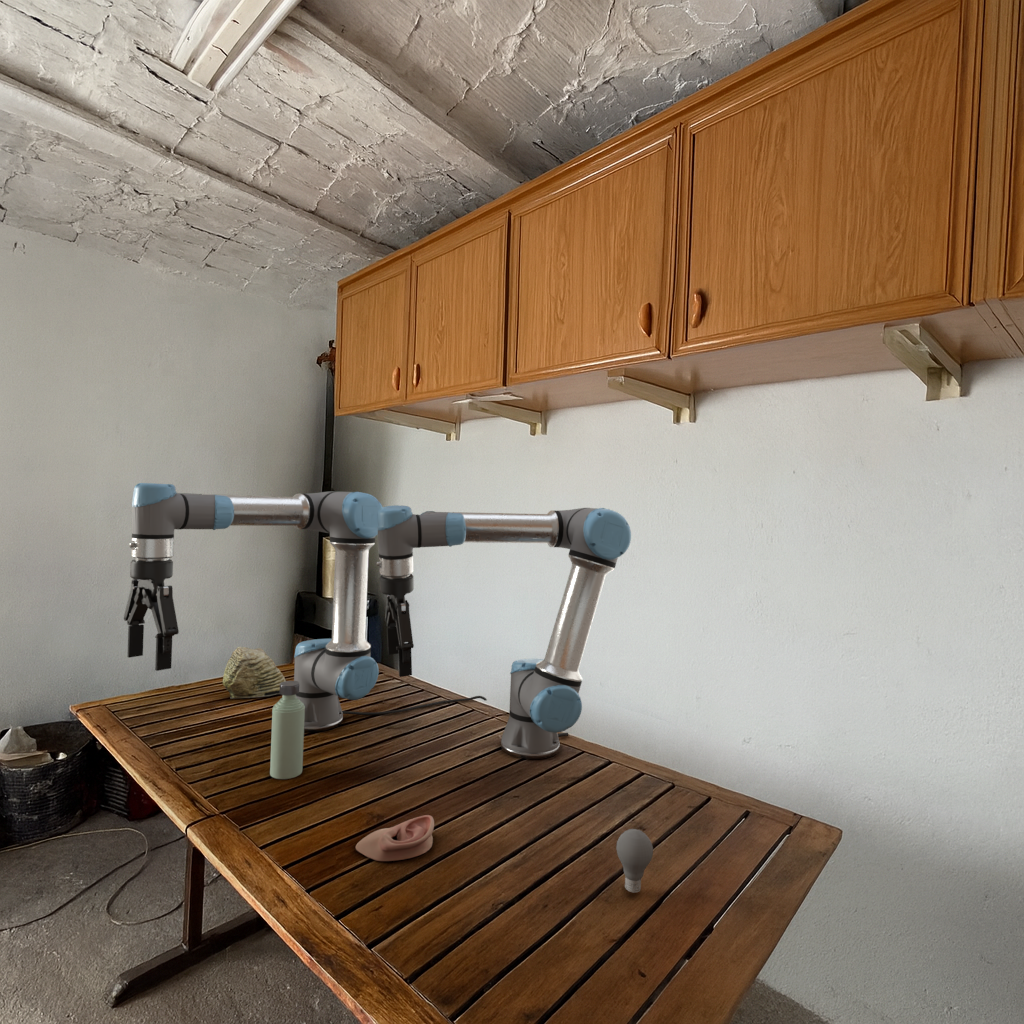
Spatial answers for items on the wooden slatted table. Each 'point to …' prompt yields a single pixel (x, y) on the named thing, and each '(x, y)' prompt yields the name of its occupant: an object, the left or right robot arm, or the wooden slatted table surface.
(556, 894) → the wooden slatted table surface
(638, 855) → the light bulb
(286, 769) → the bottle
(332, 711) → the left robot arm
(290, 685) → the cap
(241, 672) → the fossil
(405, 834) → the anatomical model
